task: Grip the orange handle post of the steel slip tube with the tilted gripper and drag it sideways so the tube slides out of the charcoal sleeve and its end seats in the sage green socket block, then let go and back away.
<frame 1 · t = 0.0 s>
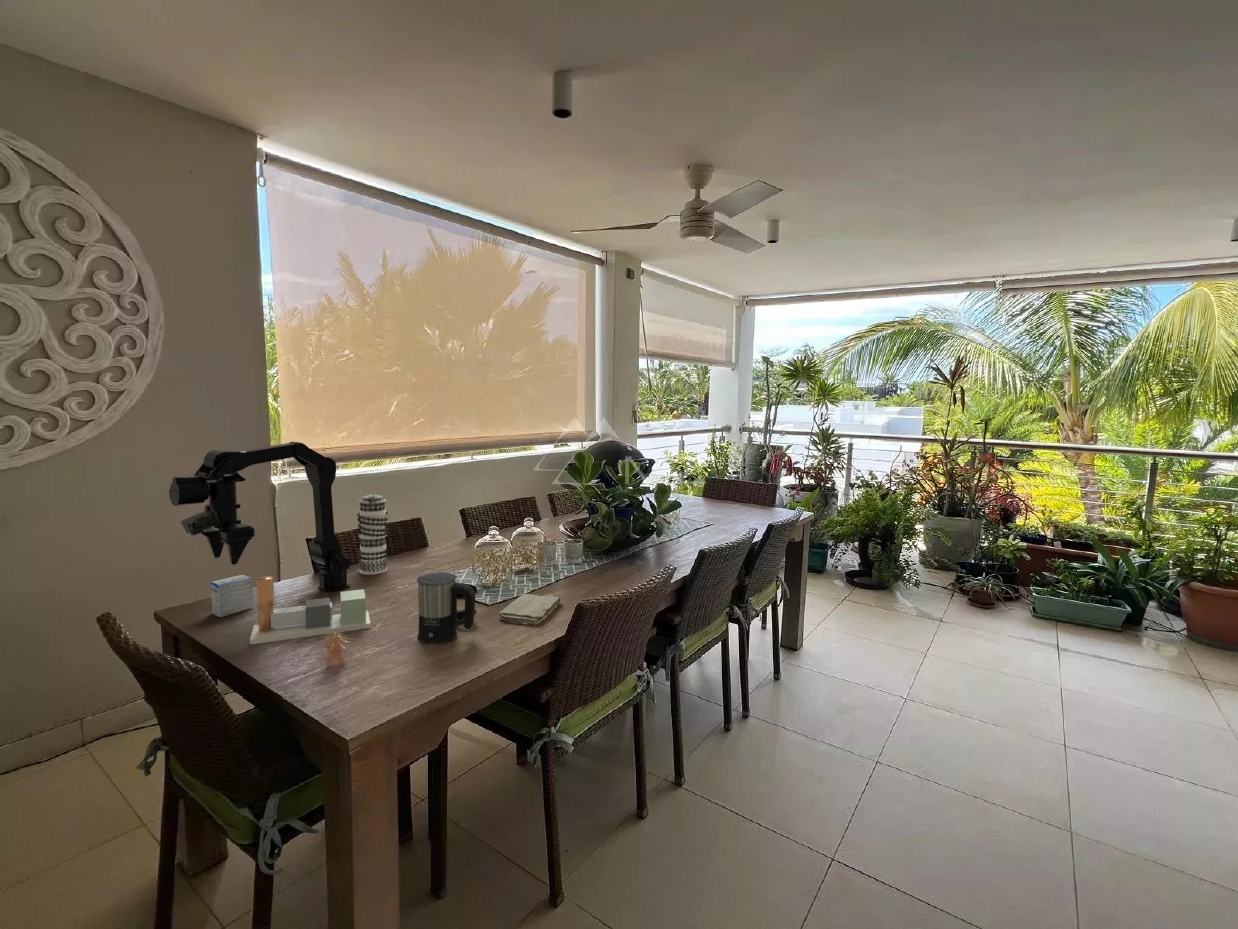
hand: (225, 561, 144), 15 cm above the table, tool pointing down, fingers open, 9 cm apart
medicine box: (232, 612, 149), on the table
washcloth: (530, 614, 157), on the table
slip tube: (295, 600, 138), point 8 cm above the table, slide at 0.0 cm
socket block: (353, 607, 144), point 4 cm above the table
tube stand: (267, 635, 136), on the table
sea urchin: (335, 666, 122), on the table
decorative candle: (373, 571, 187), on the table
milk frother: (447, 630, 143), on the table
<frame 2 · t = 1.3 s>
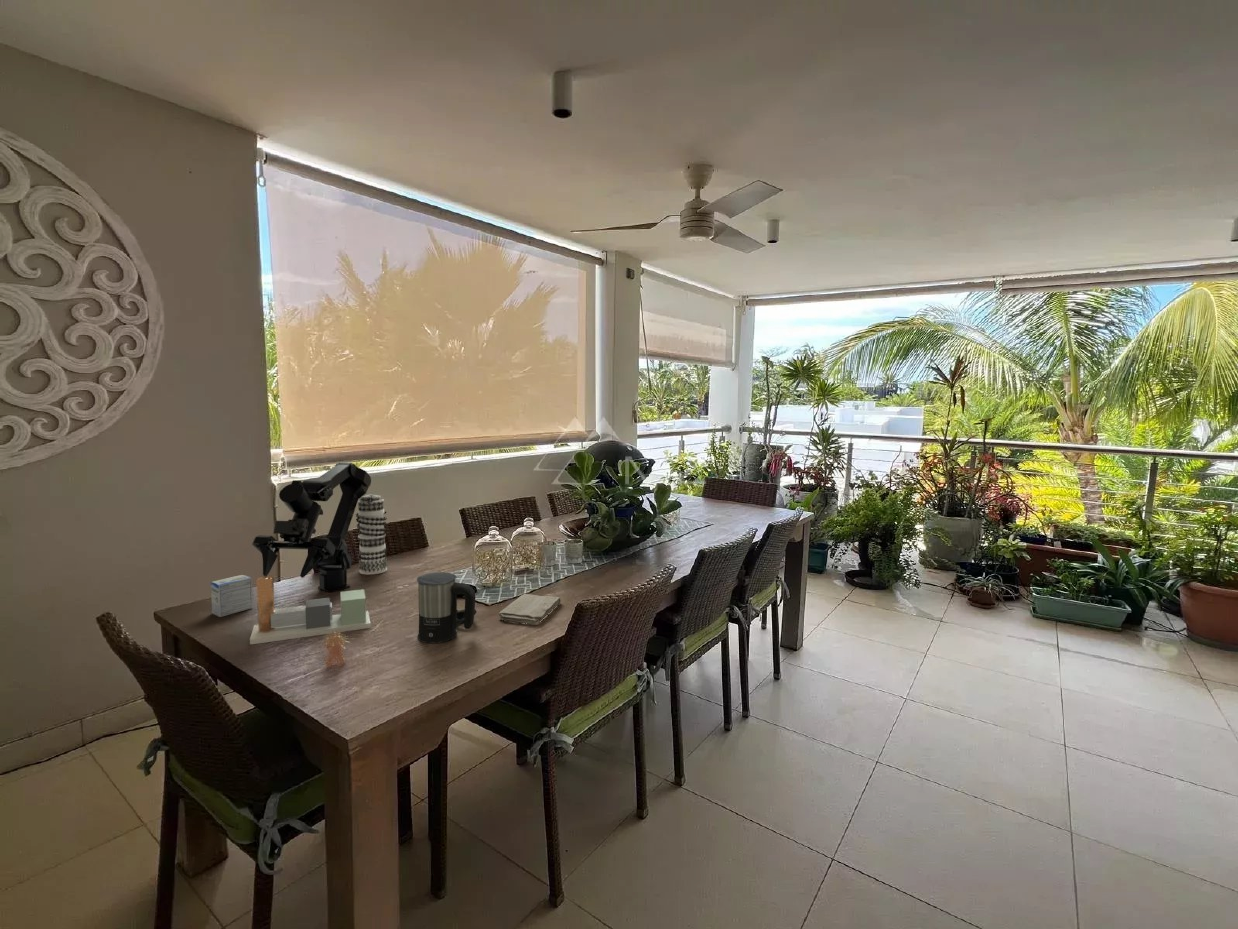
hand: (283, 576, 142), 12 cm above the table, tool tilted 40°, fingers open, 9 cm apart
decorative candle: (373, 571, 187), on the table, touching arm
everything else where it was.
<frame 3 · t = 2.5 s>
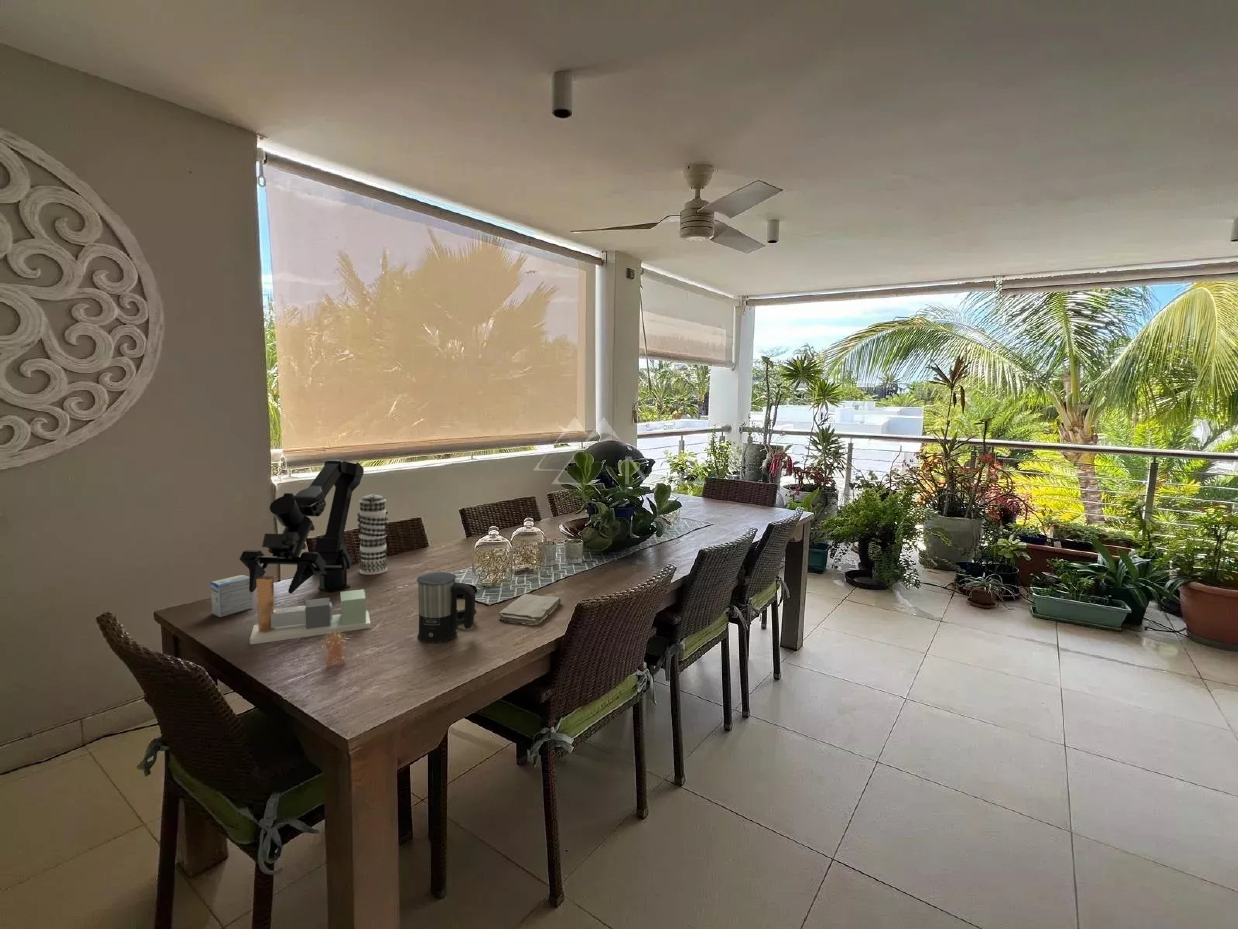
hand: (270, 592, 137), 10 cm above the table, tool tilted 45°, fingers open, 9 cm apart
decorative candle: (373, 571, 187), on the table
everything else where it was.
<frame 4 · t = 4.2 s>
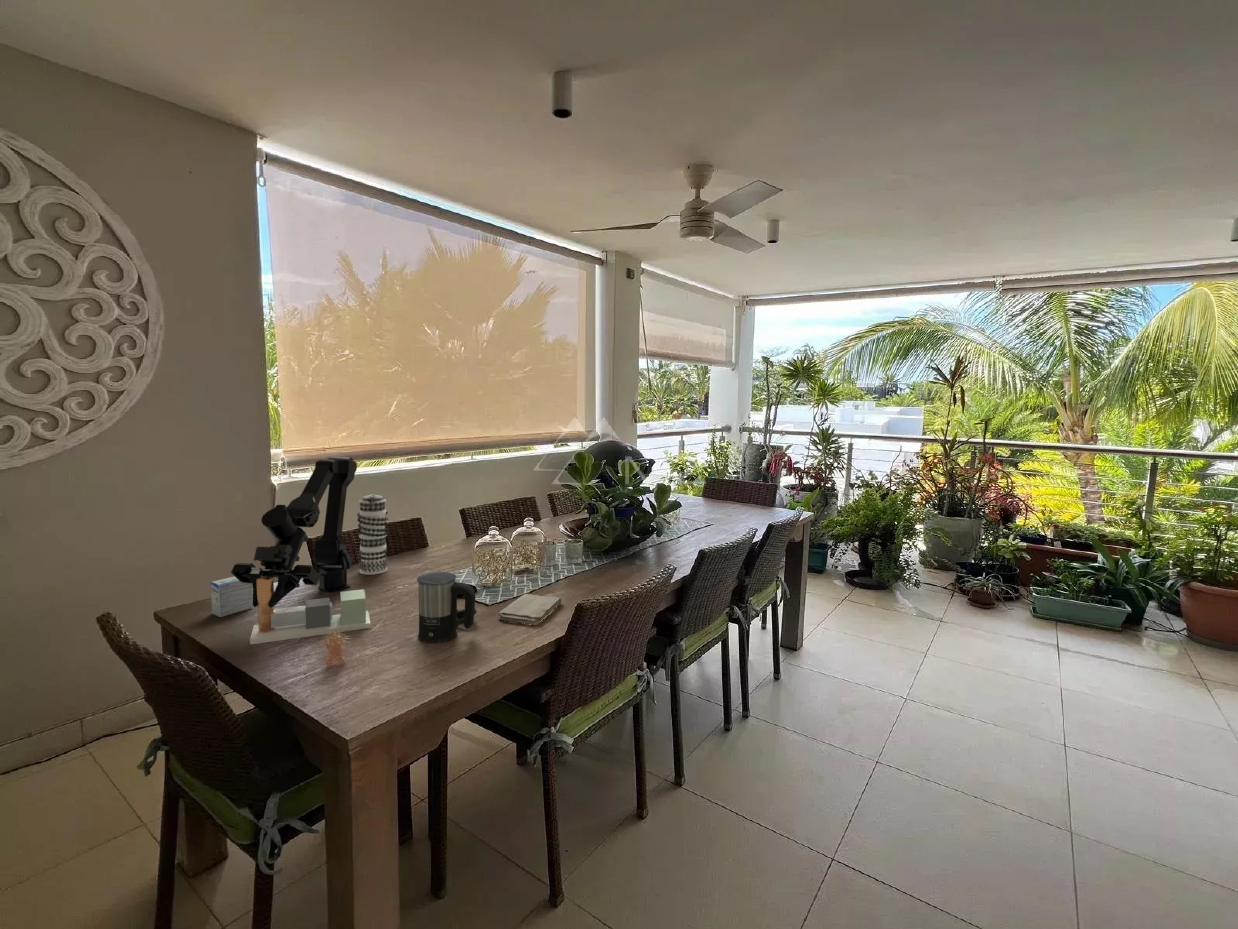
hand: (262, 606, 134), 8 cm above the table, tool tilted 45°, fingers closed on slip tube, 3 cm apart
slip tube: (295, 600, 138), point 8 cm above the table, slide at 0.0 cm, touching gripper
everything else where it was.
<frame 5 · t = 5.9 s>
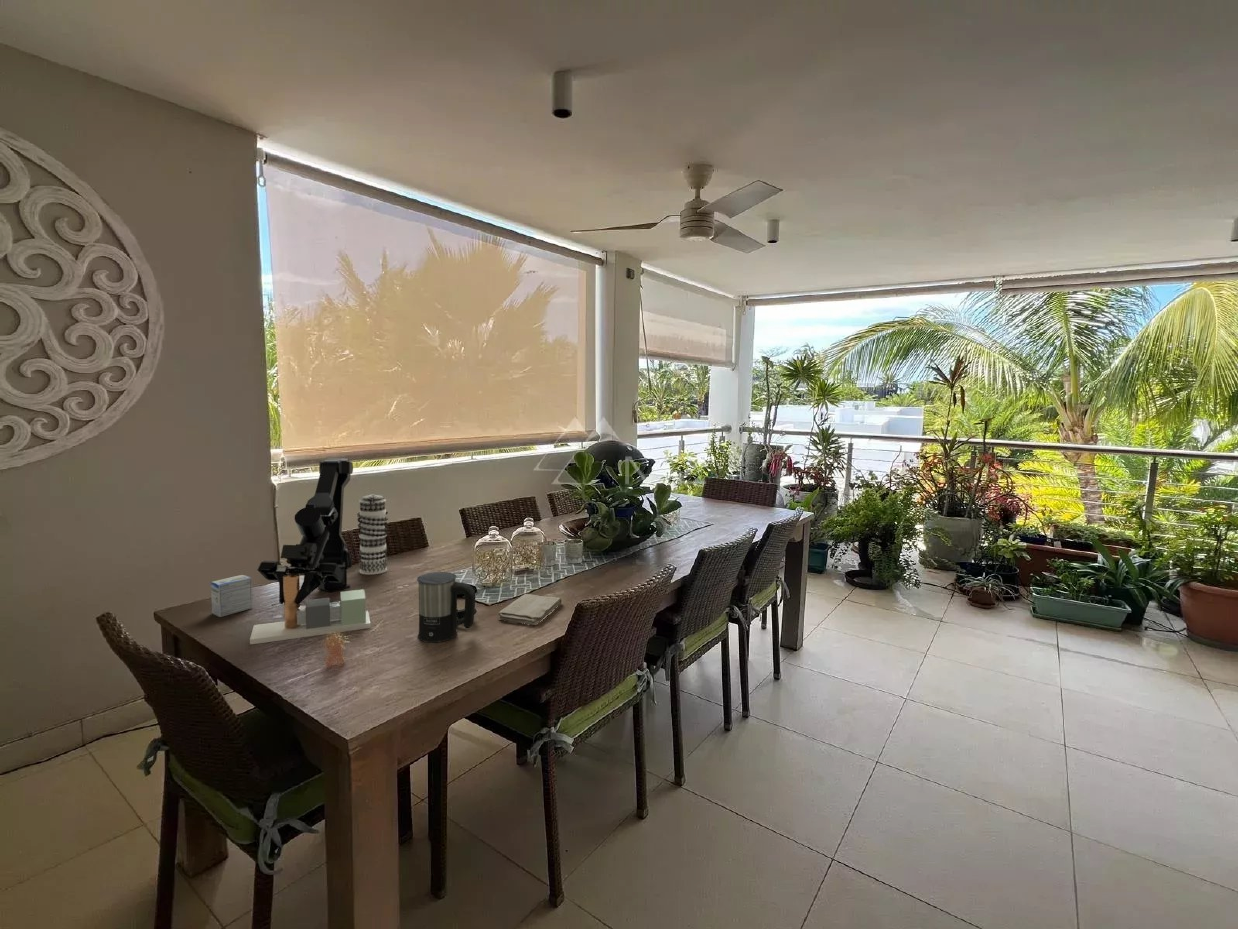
hand: (288, 603, 136), 8 cm above the table, tool tilted 45°, fingers closed on slip tube, 3 cm apart
slip tube: (320, 597, 140), point 8 cm above the table, slide at 5.4 cm, touching gripper
everything else where it was.
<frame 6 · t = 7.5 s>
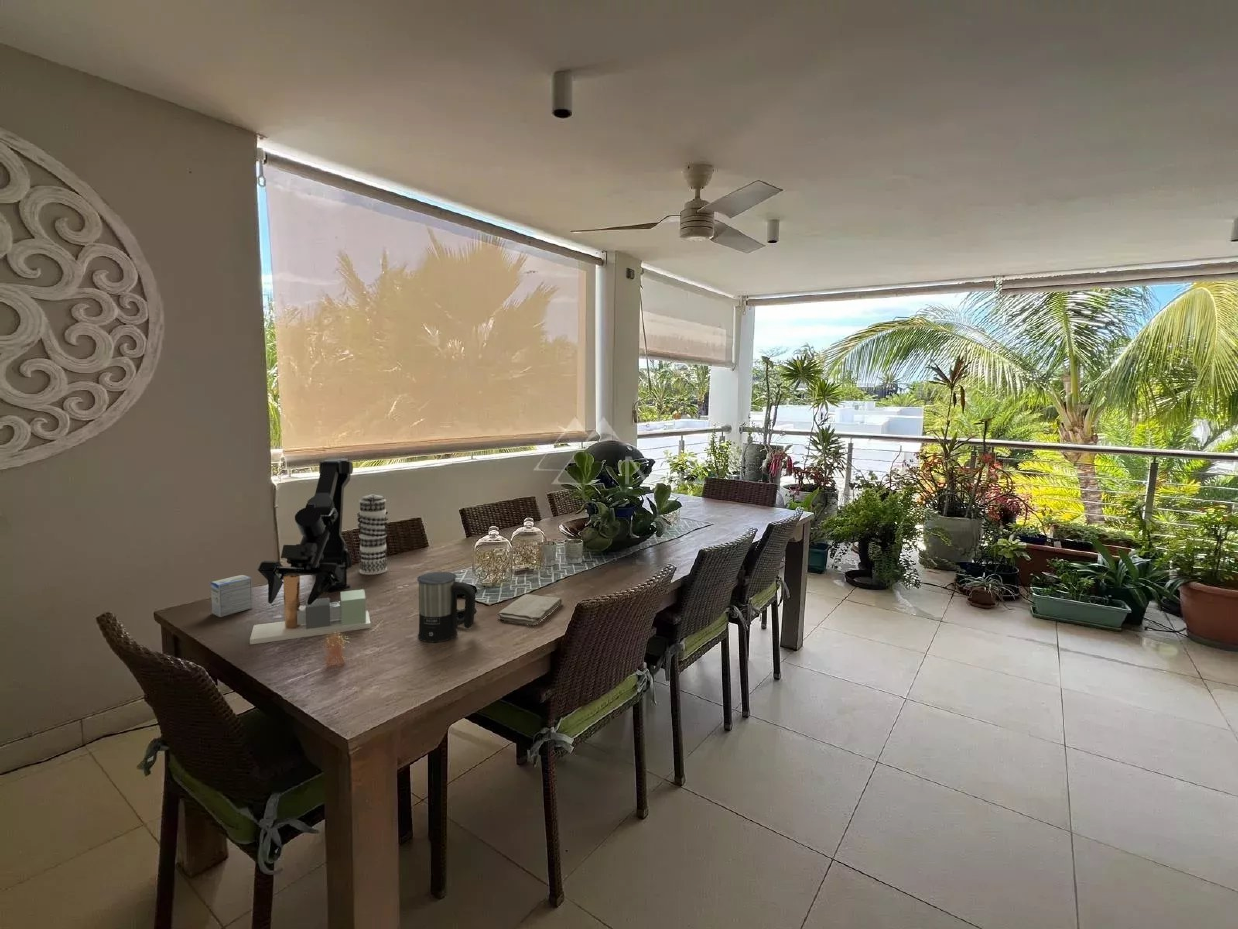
hand: (289, 603, 136), 8 cm above the table, tool tilted 45°, fingers open, 9 cm apart
slip tube: (320, 597, 140), point 8 cm above the table, slide at 5.4 cm
everything else where it was.
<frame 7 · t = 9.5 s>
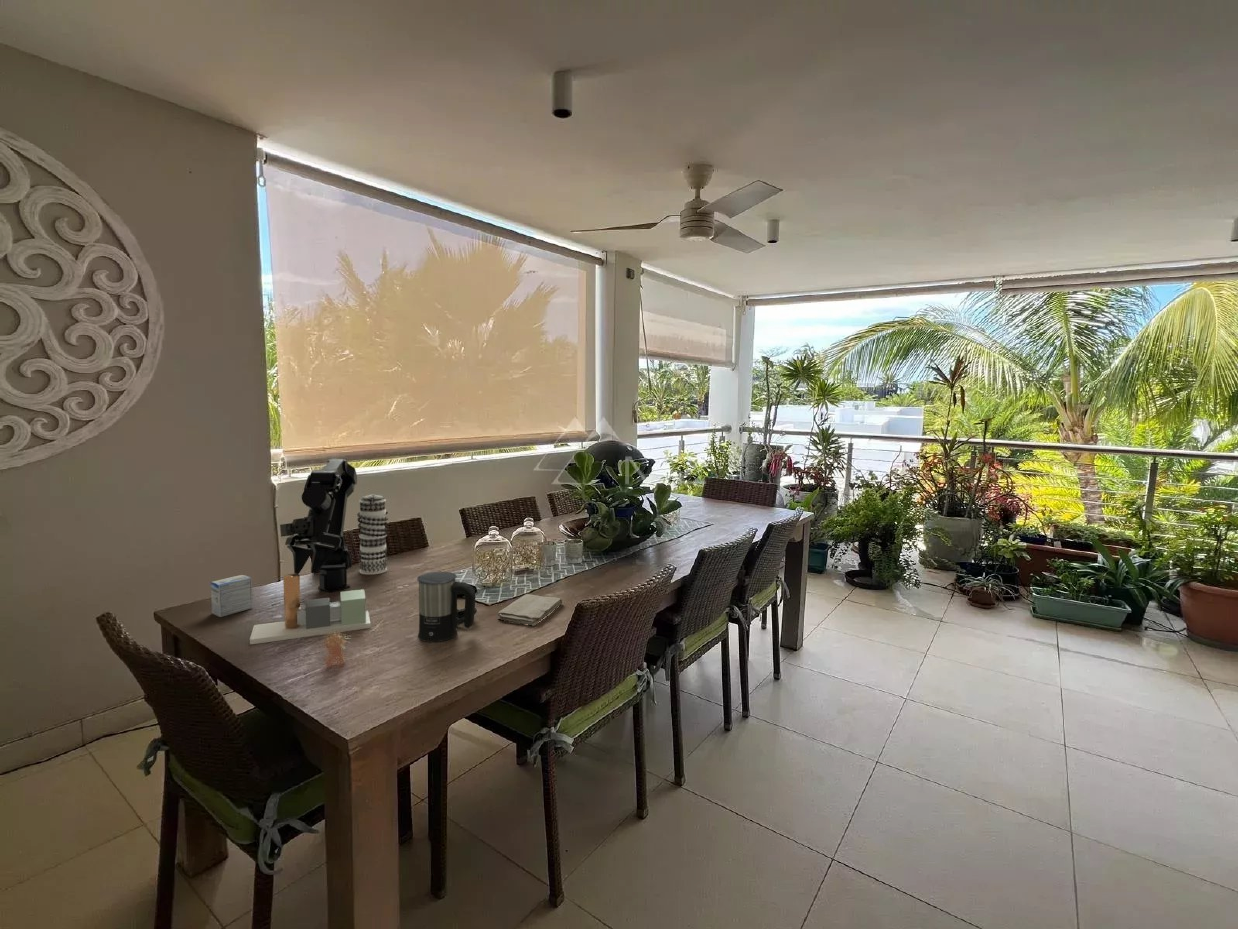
hand: (304, 573, 149), 11 cm above the table, tool tilted 25°, fingers open, 9 cm apart
nothing on the table moved.
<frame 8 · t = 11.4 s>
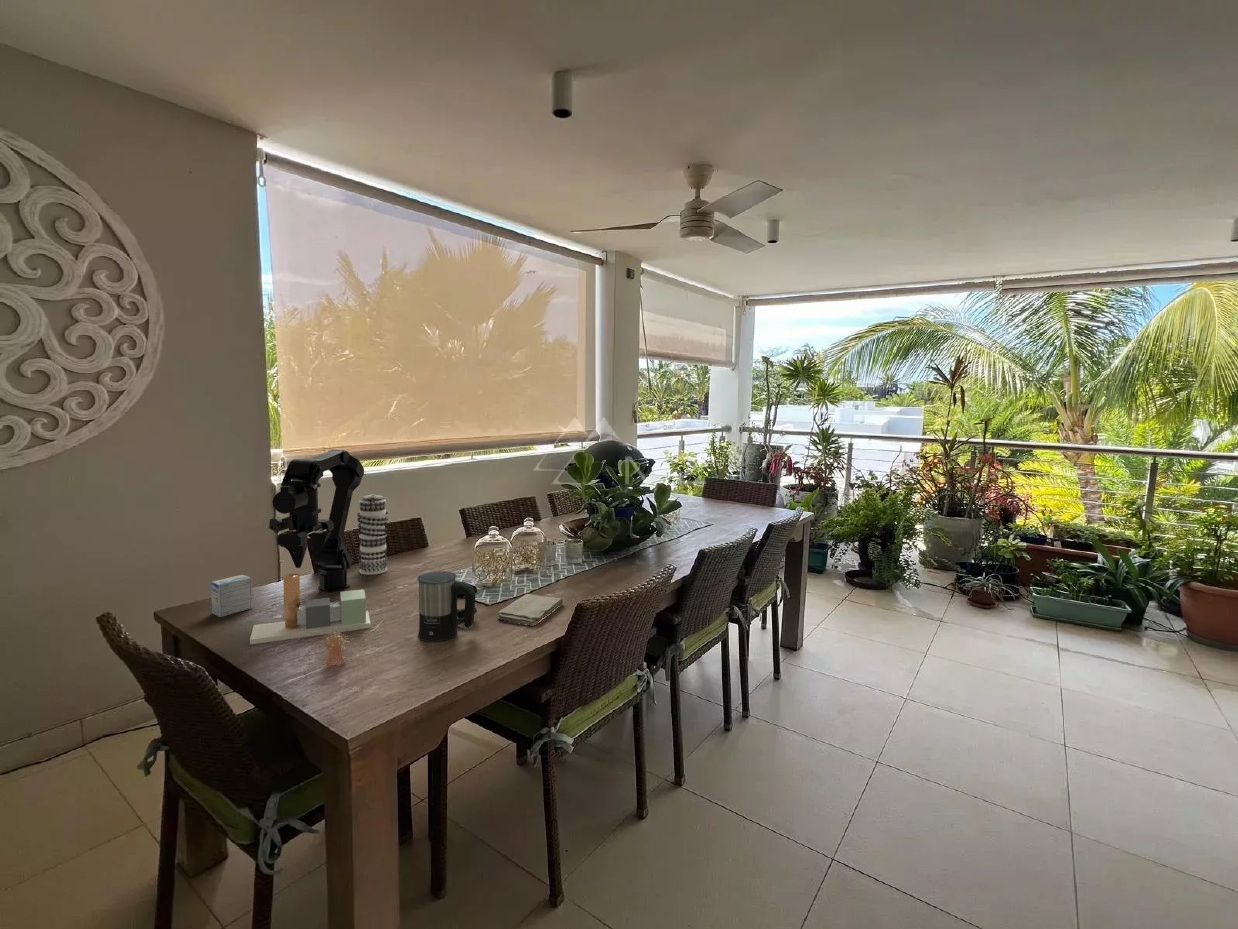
hand: (307, 562, 154), 12 cm above the table, tool pointing down, fingers open, 9 cm apart
nothing on the table moved.
at the end: slip tube slide at 5.4 cm; the gripper is holding nothing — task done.
